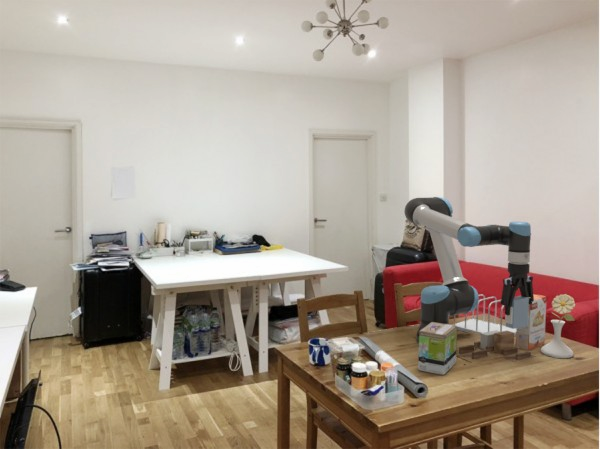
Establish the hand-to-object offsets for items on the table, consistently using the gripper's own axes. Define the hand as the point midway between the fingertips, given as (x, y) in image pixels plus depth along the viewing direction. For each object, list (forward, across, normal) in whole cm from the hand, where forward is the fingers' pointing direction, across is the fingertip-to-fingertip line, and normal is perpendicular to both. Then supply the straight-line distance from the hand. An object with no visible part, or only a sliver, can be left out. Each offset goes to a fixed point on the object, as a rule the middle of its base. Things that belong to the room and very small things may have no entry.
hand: (516, 321), depth 192 cm
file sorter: (+15, +19, +32) cm, 40 cm away
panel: (+2, 0, 0) cm, 2 cm away
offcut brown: (+13, 0, +6) cm, 14 cm away
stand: (+14, -14, +8) cm, 22 cm away
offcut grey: (+13, 0, +12) cm, 18 cm away
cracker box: (+15, +16, +6) cm, 23 cm away
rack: (+14, 0, +6) cm, 15 cm away
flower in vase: (+14, +16, -7) cm, 22 cm away
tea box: (+15, -32, +7) cm, 36 cm away
